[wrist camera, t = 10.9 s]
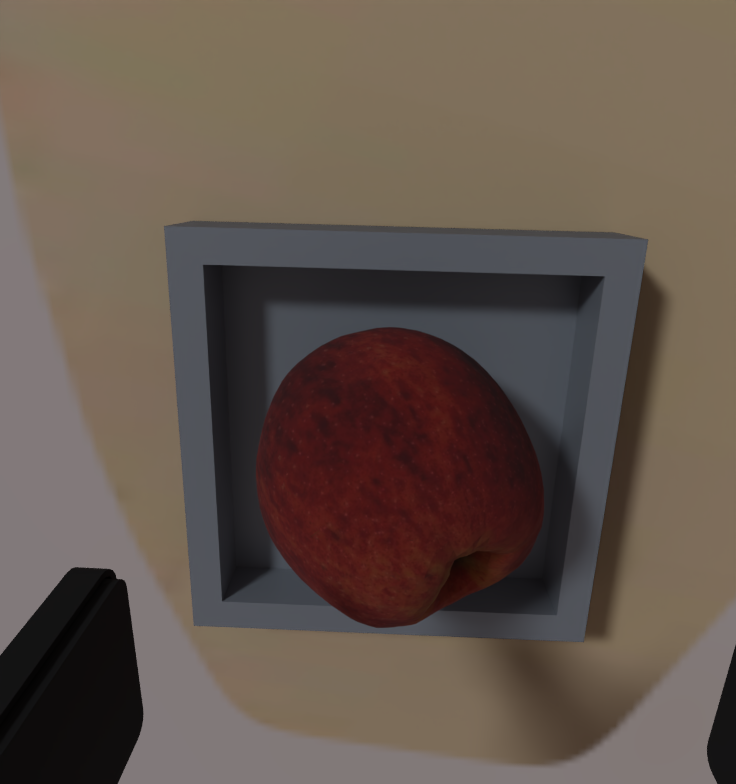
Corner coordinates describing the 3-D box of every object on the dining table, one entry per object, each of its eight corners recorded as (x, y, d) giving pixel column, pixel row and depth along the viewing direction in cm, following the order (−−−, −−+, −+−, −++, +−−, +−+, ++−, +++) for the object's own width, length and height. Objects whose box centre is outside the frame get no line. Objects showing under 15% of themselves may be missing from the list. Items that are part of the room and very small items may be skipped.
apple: (356, 558, 22) (340, 749, 15) (231, 379, 20) (138, 494, 13) (545, 461, 21) (633, 618, 13) (430, 259, 19) (457, 309, 11)
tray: (192, 220, 20) (163, 225, 17) (614, 232, 19) (648, 239, 17) (214, 579, 24) (194, 625, 21) (563, 593, 23) (583, 642, 21)
